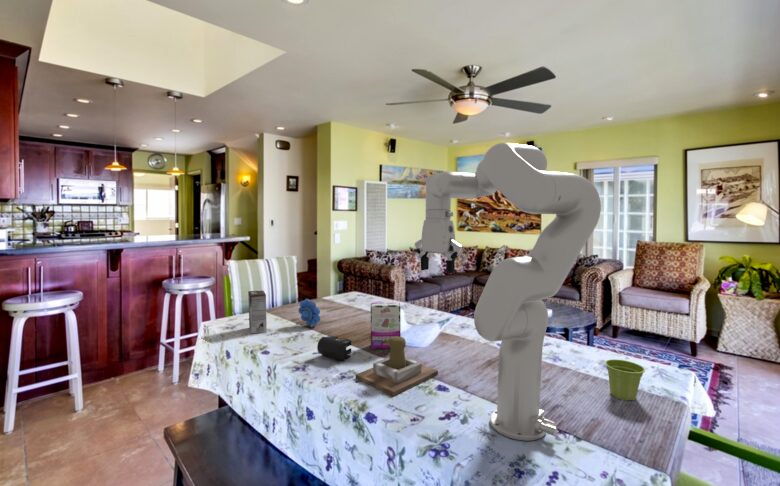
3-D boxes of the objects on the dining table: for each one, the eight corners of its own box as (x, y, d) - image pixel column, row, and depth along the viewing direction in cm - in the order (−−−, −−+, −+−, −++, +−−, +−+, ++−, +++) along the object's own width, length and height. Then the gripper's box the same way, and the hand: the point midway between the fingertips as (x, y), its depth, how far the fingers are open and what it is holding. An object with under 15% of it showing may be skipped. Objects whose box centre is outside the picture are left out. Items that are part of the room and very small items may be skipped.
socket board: (437, 374, 119) (438, 361, 119) (393, 396, 105) (393, 381, 105) (400, 360, 131) (400, 348, 130) (355, 378, 116) (355, 364, 116)
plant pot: (607, 385, 113) (608, 356, 112) (645, 395, 107) (647, 364, 106) (600, 396, 106) (601, 366, 105) (640, 408, 100) (642, 375, 99)
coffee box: (248, 327, 166) (247, 291, 165) (264, 326, 169) (263, 289, 168) (250, 333, 158) (249, 295, 157) (267, 331, 161) (266, 294, 159)
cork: (405, 377, 114) (405, 341, 113) (385, 375, 115) (385, 340, 115) (408, 369, 120) (408, 335, 119) (389, 367, 121) (389, 333, 120)
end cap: (316, 357, 133) (316, 338, 132) (330, 351, 139) (330, 333, 138) (339, 364, 127) (339, 344, 127) (352, 357, 133) (352, 338, 133)
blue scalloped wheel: (292, 326, 168) (292, 299, 167) (302, 322, 174) (302, 296, 173) (314, 330, 163) (314, 302, 162) (323, 326, 169) (323, 299, 168)
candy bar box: (399, 344, 147) (400, 302, 145) (400, 349, 142) (401, 305, 140) (370, 344, 146) (370, 302, 145) (370, 349, 141) (370, 305, 140)
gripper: (469, 216, 113) (467, 273, 114) (423, 215, 125) (422, 267, 126) (454, 216, 108) (453, 276, 109) (408, 215, 120) (407, 269, 121)
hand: (436, 271), depth 118 cm, fingers open, 9 cm apart
